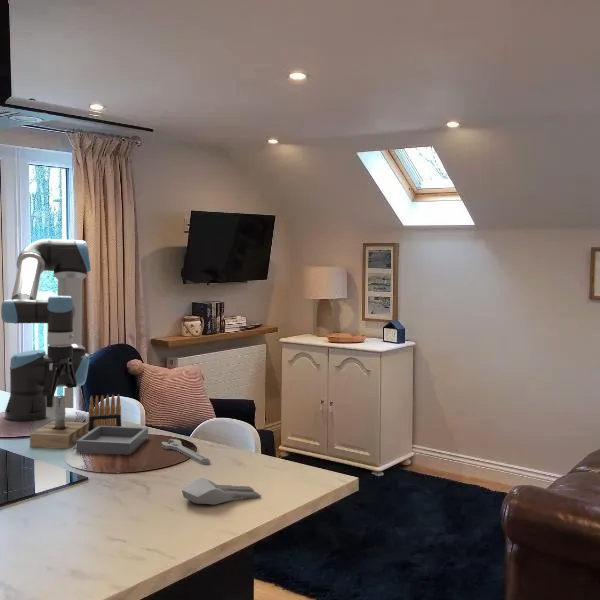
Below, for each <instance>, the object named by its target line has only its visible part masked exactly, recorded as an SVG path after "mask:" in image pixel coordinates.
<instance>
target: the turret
mask: <svg viewBox="0 0 600 600" xmlns="http://www.w3.org/2000/svg"><path fill="white" fill-rule="evenodd" d="M181 490H182V491H181V492H182V496H183V498H184V499H185V500H188V501H191V502H192V503H194V504H198V505H202V504H207V505H219V504H221V503H226V502H231V501H234V500H235V499H259V498H261V497H262V495H261V494H259V492H257V491H255V489H254V488H252V487H251V486H247V485H245V486H244V485H241V486H240V485H228V484H216V483H215V482H213V481H212V480H209V479H207V478H205V477H197V478H195V479H194V480H191V481H190V482H189V483H186V484H185V485H184V486H183V488H182V489H181Z"/></svg>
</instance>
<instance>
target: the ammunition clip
mask: <svg viewBox="0 0 600 600" xmlns="http://www.w3.org/2000/svg"><path fill="white" fill-rule="evenodd" d="M110 399H111V400H110ZM99 400H100V403H99ZM115 400H116V401H115ZM121 410H122V405H121V397H120V394H119V393H118V394H117V396H116V399H115V395H114V394H112V396H111V398H110V396H109V394H107V395H106V396H105V399H104V395H103V394H102V395H101V396H100V399H99V395H96V396H95V399H94V398H93V395H90V397H89V405H88V422H87V423H88V432H90V431H91V430H93V429H94V428H96V427H97V426H119V427H122V413H121V412H122V411H121Z"/></svg>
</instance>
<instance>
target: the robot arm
mask: <svg viewBox="0 0 600 600" xmlns="http://www.w3.org/2000/svg"><path fill="white" fill-rule="evenodd" d="M16 259H17V261H16V268H17V273H16V277H15V281H14V286H13V288H12V289H13V290H12V293H11V297H10V299H5V300H3V301H2V302H1V306H0V307H1V310H0V315H1V320H2V322H3V323H7V324H15V325H16V324H47V339H46V340H47V345H48V346H47V351H45V350H43V349H33V350H26V351H22V352H18V353H14V354H13V355H12V356H11V357H10V363H9V365H10V366H9V370H10V372H9V373H10V374H9V375H10V376H9V377H10V382H9V383H10V384H9V385H10V389H9V390H10V396H9V398H8V402H7V404H6V406H5V407H6V408H5V410H4V418H5V419H7V420H9V421H16V422H29V421H37V420H38V421H40V420H43V419H47V418H54V419H55V417H56V395H55V393H56V390H57V388H59V387H64V390H63V391H64V392H63V393H64V395H63V396H65V409H73V408H74V391H75V390H74V388H77V387H81V386H84V385H85V383H86V382H87V378H88V370H89V365H90V354H89V353H86V348H85V347H84V346H83V345H82V330H83V329H82V326H83V325H82V323H83V321H82V320H83V280H84V279H86V278H87V274H88V273H89V272H91V271H92V269H91V261H90V253H89V246H88V243H87V242H86V241H85V240H79V239H78V240H76V239H51V238H50V239H49V238H48V239H47V238H43V239H39V240H35V241H34V242H31V243H30V244H28V245H27V246H26V247H25V248H23V249H22V250H21V252H20V253H19V254H18V257H17V258H16ZM44 271H45V272H46V271H48V272H53V277H54V278H55V279H57V295H50V296H48V298H47V299H37V296H38V291H39V285H40V281H41V280H40V279H41V274H43V272H44ZM46 352H47V353H46Z"/></svg>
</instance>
